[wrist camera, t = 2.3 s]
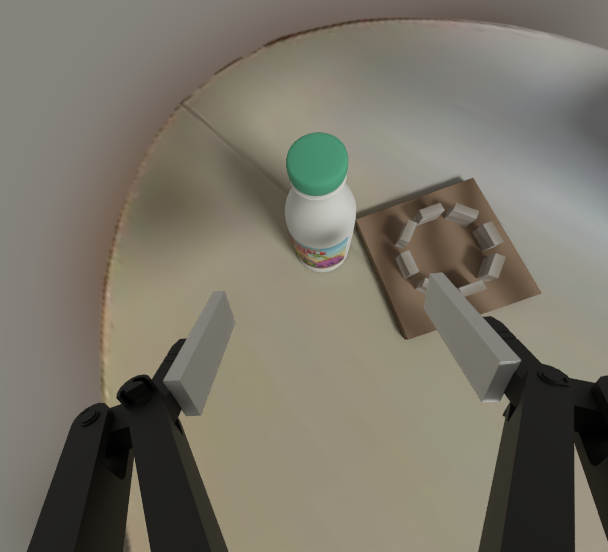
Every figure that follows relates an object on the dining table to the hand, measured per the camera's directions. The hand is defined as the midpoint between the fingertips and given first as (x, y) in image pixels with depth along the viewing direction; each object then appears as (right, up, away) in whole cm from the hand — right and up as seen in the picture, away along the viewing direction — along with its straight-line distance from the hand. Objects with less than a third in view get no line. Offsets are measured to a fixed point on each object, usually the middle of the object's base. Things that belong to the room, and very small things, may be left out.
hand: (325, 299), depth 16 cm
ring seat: (+18, +4, +19) cm, 26 cm away
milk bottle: (+1, +6, +21) cm, 22 cm away
